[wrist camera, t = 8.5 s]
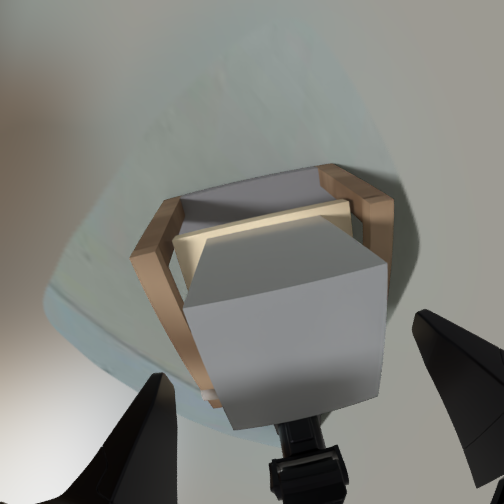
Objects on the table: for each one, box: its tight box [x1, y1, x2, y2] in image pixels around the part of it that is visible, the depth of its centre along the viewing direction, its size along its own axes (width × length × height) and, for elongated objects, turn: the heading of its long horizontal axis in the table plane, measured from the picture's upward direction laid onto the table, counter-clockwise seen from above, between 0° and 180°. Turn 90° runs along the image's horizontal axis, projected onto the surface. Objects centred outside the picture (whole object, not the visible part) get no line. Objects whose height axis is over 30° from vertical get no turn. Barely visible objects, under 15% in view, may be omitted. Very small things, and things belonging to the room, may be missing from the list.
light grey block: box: [182, 215, 388, 430], centre depth 10 cm, size 5×5×6 cm
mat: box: [179, 166, 336, 235], centre depth 20 cm, size 12×11×1 cm
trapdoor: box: [172, 199, 353, 291], centre depth 16 cm, size 13×8×6 cm, turn 12°
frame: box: [130, 163, 394, 408], centre depth 16 cm, size 12×11×8 cm
